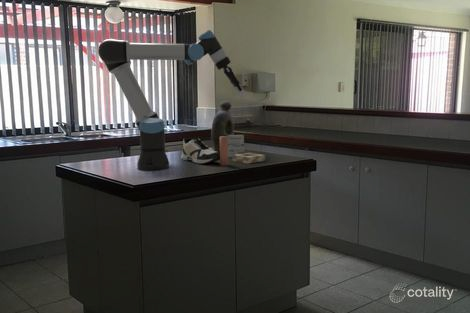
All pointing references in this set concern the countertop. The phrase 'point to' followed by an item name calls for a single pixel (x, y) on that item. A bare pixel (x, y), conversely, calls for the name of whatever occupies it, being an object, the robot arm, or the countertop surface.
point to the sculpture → (221, 125)
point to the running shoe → (198, 152)
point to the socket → (248, 157)
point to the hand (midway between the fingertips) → (243, 95)
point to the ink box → (235, 144)
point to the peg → (223, 150)
